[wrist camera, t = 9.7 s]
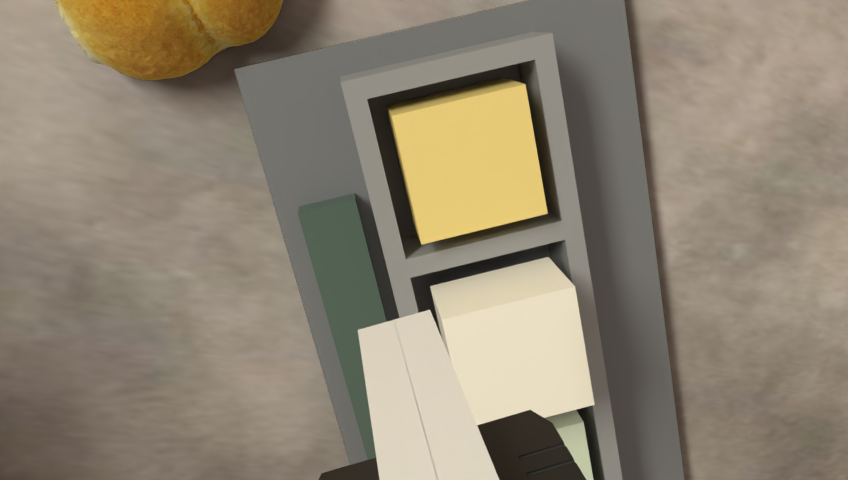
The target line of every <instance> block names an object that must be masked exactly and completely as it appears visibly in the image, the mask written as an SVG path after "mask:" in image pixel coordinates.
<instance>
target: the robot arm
mask: <svg viewBox="0 0 848 480" xmlns="http://www.w3.org/2000/svg"><path fill="white" fill-rule="evenodd" d="M358 336H359V342H360V349H361V356H362V363H363V370H364V377H365V384H366V390H367V397H368V404H369V411H370V418H371V425H372V431H373V438H374V445H375V452H376V458H373V459H369V460H366V461H362V462H359V463H356V464H352V465H349V466H345V467H342V468H339V469H335V470H332V471H328V472H325V473H322V474H321V476H320V478H319V480H586V478H585V477H584V475H583V473H582V472H581V470H580V468H579V467H578V465H577V463H575V461H574V458H573V457H572V455H571V453H570V452H569V450H568V448H567V446H565V444H564V441H563V440H562V438H561V436H560V435H559V433H558V431H557V430H556V428H555V426H554V425H553V423H552V422H550V421H548V420H547V419H545V418H543V417H542V416H540V415H538V414H537V413H535V412H533V411H532V410H528V411H524V412H521V413H517V414H514V415H511V416H507V417H504V418H500V419H497V420H494V421H490V422H487V423H483V424H480V425H477V424H476V421H475V419H474V416H473V414H472V412H471V409H470V407H469V404H468V402H467V399H466V397H465V394H464V392H463V389H462V387H461V385H460V382H459V380H458V377H457V375H456V372H455V370H454V367H453V365H452V362H451V360H450V358H449V355H448V353H447V350H446V348H445V345H444V343H443V340H442V338H441V335H440V333H439V331H438V328H437V326H436V323H435V321H434V318H433V316H432V313H431V311H430V310H427V311H423V312H420V313H416V314H413V315H409V316H405V317H402V318H398V319H395V320H391V321H388V322H384V323H381V324H377V325H373V326H370V327H366V328H363V329H359V330H358Z"/></svg>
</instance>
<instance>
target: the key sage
mask: <svg viewBox="0 0 848 480" xmlns="http://www.w3.org/2000/svg"><path fill="white" fill-rule="evenodd" d="M545 419H547V420H548V421H550V422H552V423H553V425H554V426H555V428H556V430H557V431H558V433H559V435H560V436H561V438H562V440H563V441H564V444H565V446H567V448H568V450H569V452H570V453H571V455H572V457H573V458H574V461H575V463H577V465H578V467H579V468H580V470H581V472H582V473H583V475H584V477H585V478H586V480H593V474H592V468H591V462H590V456H589V451H588V445H587V439H586V433H585V427H584V422H583V420H582V419H581V417H580V415H579V414H578V412H577V411H576V410H573V411H569V412H565V413H561V414H557V415H553V416H549V417H546V418H545Z"/></svg>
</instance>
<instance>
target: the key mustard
mask: <svg viewBox="0 0 848 480" xmlns="http://www.w3.org/2000/svg"><path fill="white" fill-rule="evenodd" d="M386 110H387V114H388V118H389V123H390V127H391V131H392V135H393V140H394V144H395V148H396V153H397V157H398V161H399V165H400V170H401V174H402V178H403V183H404V187H405V191H406V195H407V200H408V204H409V208H410V213H411V217H412V221H413V224H414V226H415V229H416V232H417V234H418V237H419V240H420V242H421V245H422V244H426V243H430V242H435V241H439V240H443V239H447V238H451V237H455V236H459V235H463V234H467V233H471V232H475V231H479V230H483V229H487V228H492V227H496V226H500V225H504V224H508V223H512V222H516V221H520V220H524V219H528V218H532V217H536V216H540V215H544V214H548V212H547V206H546V200H545V195H544V189H543V183H542V177H541V171H540V166H539V160H538V154H537V148H536V142H535V136H534V131H533V125H532V119H531V113H530V107H529V102H528V96H527V90H526V84H523V83H520V82H517V81H514V80H511V79H508V78H500V79H496V80H491V81H487V82H483V83H479V84H475V85H470V86H466V87H462V88H458V89H453V90H449V91H445V92H441V93H436V94H432V95H428V96H424V97H419V98H415V99H411V100H407V101H403V102H398V103H394V104H390V105H386Z"/></svg>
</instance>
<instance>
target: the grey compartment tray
mask: <svg viewBox="0 0 848 480" xmlns="http://www.w3.org/2000/svg"><path fill="white" fill-rule="evenodd" d="M234 71H235V74H236V78H237V81H238V85H239V88H240V91H241V95H242V98H243V102H244V105H245V108H246V112H247V115H248V119H249V122H250V125H251V129H252V132H253V136H254V139H255V142H256V146H257V149H258V153H259V156H260V159H261V163H262V166H263V170H264V173H265V176H266V180H267V183H268V187H269V190H270V193H271V197H272V200H273V204H274V207H275V210H276V214H277V217H278V221H279V224H280V227H281V231H282V234H283V238H284V241H285V244H286V248H287V251H288V255H289V258H290V261H291V265H292V268H293V272H294V275H295V278H296V282H297V285H298V289H299V292H300V295H301V299H302V302H303V306H304V309H305V313H306V316H307V319H308V323H309V326H310V330H311V333H312V336H313V340H314V343H315V347H316V350H317V353H318V357H319V360H320V364H321V367H322V370H323V374H324V377H325V381H326V384H327V387H328V391H329V394H330V398H331V401H332V404H333V408H334V411H335V415H336V418H337V421H338V425H339V428H340V432H341V435H342V438H343V442H344V445H345V449H346V452H347V455H348V459H349V462H350V465H352V464H356V463H359V462H362V461H366V460H369V459H373V458H376V452H375V445H374V438H373V431H372V425H371V418H370V411H369V404H368V397H367V390H366V384H365V377H364V370H363V363H362V356H361V349H360V342H359V336H358V330H359V329H363V328H366V327H370V326H373V325H377V324H381V323H384V322H388V321H391V320H395V319H398V318H402V317H405V316H409V315H413V314H416V313H420V312H423V311H427V310H430V311H431V313H432V316H433V318H434V321H435V323H436V326H437V328H438V331H439V333H440V335H441V332H440V328H439V323H438V319H437V315H436V311H435V306H434V302H433V298H432V293H431V289H430V286H433V285H437V284H441V283H445V282H449V281H453V280H457V279H461V278H465V277H469V276H473V275H477V274H481V273H485V272H489V271H493V270H497V269H501V268H505V267H509V266H513V265H517V264H521V263H525V262H530V261H534V260H538V259H542V258H546V257H549V258H550V259H551V260H552V261H553V263H554V264H555V265H556V266H557V267H558V268H559V269H560V270H561V271H562V273H563V274H564V275H565V276H566V277H567V278H568V279H569V280H570V281H571V282H572V284H573V285H574V286H575V289H576V295H577V301H578V307H579V313H580V319H581V325H582V331H583V337H584V343H585V349H586V355H587V361H588V368H589V374H590V380H591V386H592V392H593V398H594V404H595V405H592V406H588V407H584V408H580V409H576V411H577V412H578V414H579V415H580V417H581V419H582V420H583V422H584V427H585V433H586V439H587V445H588V451H589V456H590V462H591V468H592V474H593V480H684V472H683V464H682V456H681V448H680V440H679V432H678V424H677V416H676V408H675V400H674V392H673V384H672V376H671V368H670V360H669V352H668V344H667V336H666V328H665V320H664V313H663V305H662V297H661V289H660V281H659V273H658V265H657V257H656V249H655V241H654V233H653V225H652V217H651V209H650V201H649V193H648V185H647V177H646V169H645V161H644V153H643V145H642V137H641V129H640V121H639V113H638V105H637V97H636V89H635V81H634V73H633V65H632V57H631V49H630V41H629V33H628V25H627V17H626V9H625V1H624V0H528V1H524V2H520V3H515V4H511V5H507V6H503V7H498V8H494V9H490V10H485V11H481V12H477V13H472V14H468V15H464V16H459V17H455V18H451V19H446V20H442V21H438V22H433V23H429V24H425V25H420V26H416V27H412V28H408V29H403V30H399V31H395V32H390V33H386V34H382V35H377V36H373V37H369V38H364V39H360V40H356V41H351V42H347V43H343V44H338V45H334V46H330V47H326V48H321V49H317V50H313V51H308V52H304V53H300V54H295V55H291V56H287V57H282V58H278V59H274V60H269V61H265V62H261V63H256V64H252V65H248V66H243V67H239V68H236V69H234ZM500 78H508V79H511V80H514V81H517V82H520V83H523V84H526V90H527V96H528V102H529V107H530V113H531V119H532V125H533V131H534V136H535V142H536V148H537V154H538V160H539V166H540V171H541V177H542V183H543V189H544V195H545V200H546V206H547V212H548V214H544V215H540V216H536V217H532V218H528V219H524V220H520V221H516V222H512V223H508V224H504V225H500V226H496V227H492V228H487V229H483V230H479V231H475V232H471V233H467V234H463V235H459V236H455V237H451V238H447V239H443V240H439V241H435V242H430V243H426V244H422V245H421V242H420V240H419V237H418V234H417V232H416V229H415V226H414V224H413V221H412V217H411V213H410V208H409V204H408V200H407V195H406V191H405V187H404V183H403V178H402V174H401V170H400V165H399V161H398V157H397V153H396V148H395V144H394V140H393V135H392V131H391V127H390V123H389V118H388V114H387V110H386V105H390V104H394V103H398V102H403V101H407V100H411V99H415V98H419V97H424V96H428V95H432V94H436V93H441V92H445V91H449V90H453V89H458V88H462V87H466V86H470V85H475V84H479V83H483V82H487V81H491V80H496V79H500ZM441 338H442V336H441Z"/></svg>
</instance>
